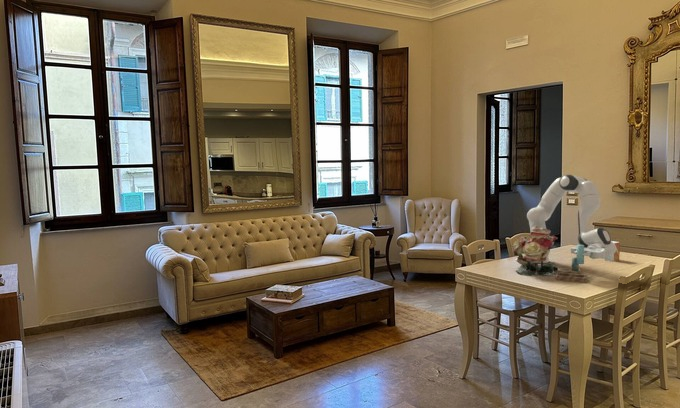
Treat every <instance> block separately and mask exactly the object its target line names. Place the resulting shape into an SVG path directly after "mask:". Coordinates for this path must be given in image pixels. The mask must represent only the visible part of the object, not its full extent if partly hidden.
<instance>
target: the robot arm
mask: <svg viewBox="0 0 680 408" xmlns="http://www.w3.org/2000/svg"><path fill="white" fill-rule="evenodd" d="M568 192H569V193H574V194H578V195H579V199H580V206H579V209H578V213H577V222H578V223H577V224H578V235H577V236H578V237H577V242H578V245H584V253H582V255H583V256H584V257H588V258H590V259H592V260H596V259H603V260H605V259H608V256H611V255H613V254H614V253H615V252H616V246H615V244H614V243H613V242H611V241H612V238H611V235H610V233H609V231H608V230H606V229H605V228H603V227H598V228H595V229H592V230H590V229H589V218H590V217H591V215H593V214H594V213H595V212H596V211H598V209H599V208H600V206H601V197H600V193H599V190H598V187H597V185H596V183H595V182H594V181H592V180H588V179H586V178H583V177H581V176H578V175H573V174H565V175H562V176H561V177H558V178H556V179H555V180H554V181H553V182H552V183H551V184H550V186H549V187H548V188H547V189H546V191H545V192H544V194H543V195H542V197H541V199H540V202H539V203H538V205H537V206H536V207H531V208H530V209H529V210H528V212H527V213H526V219H527V220H528V225H529V229H530V232H531V231H533V230H531V228H533V227H535V226H539V227H541V228H543V229H547V226H546V222H547V221H548V220H549V219H551V216H552V215H553V213H554V211H555V209H556V208H557V206H558V204H559V203H560V201H562V199H563V197H564V196H566V194H567V193H568ZM570 253H571V254H573V255H577V246H572V247H570ZM516 257H517V258H518V257H519V256H516ZM516 257H515V261H516V262H517V258H516ZM526 261H527V260H526ZM549 262H550V259H549V255H548V256H547V258H546V260H545V261H543V264H548V263H549ZM538 264H541V262H539V263H538Z"/></svg>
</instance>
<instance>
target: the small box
mask: <svg viewBox="0 0 680 408" xmlns="http://www.w3.org/2000/svg"><path fill="white" fill-rule="evenodd" d="M611 242H613V243H614V244H615V246H616V252H615V253H614V254H613V255H611V256H608V259H604V260H605V261H609V262H616V261H619V260H620V249H621V242H620V241H613V240H611Z"/></svg>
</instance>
